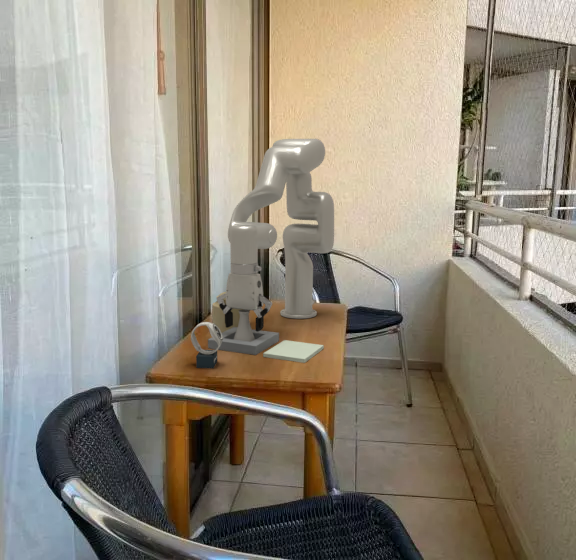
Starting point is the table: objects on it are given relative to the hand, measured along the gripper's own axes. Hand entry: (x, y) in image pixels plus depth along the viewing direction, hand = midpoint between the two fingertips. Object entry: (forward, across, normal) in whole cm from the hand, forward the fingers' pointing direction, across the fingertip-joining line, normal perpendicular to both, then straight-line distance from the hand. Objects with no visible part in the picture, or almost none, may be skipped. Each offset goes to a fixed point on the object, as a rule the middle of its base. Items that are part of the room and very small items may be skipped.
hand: (244, 328), depth 168 cm
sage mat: (+5, -16, +1) cm, 17 cm away
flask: (+5, 0, 0) cm, 5 cm away
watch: (+5, 0, +20) cm, 20 cm away
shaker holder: (+5, 0, 0) cm, 5 cm away
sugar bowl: (+5, +12, -14) cm, 19 cm away
